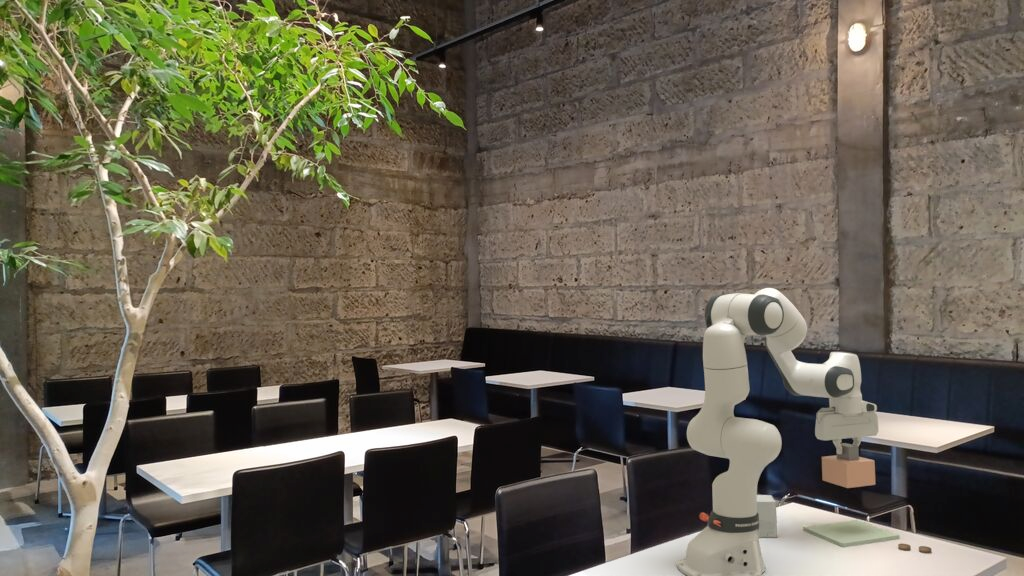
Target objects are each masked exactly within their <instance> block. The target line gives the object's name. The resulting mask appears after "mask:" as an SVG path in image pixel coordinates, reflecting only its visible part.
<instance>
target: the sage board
mask: <svg viewBox="0 0 1024 576" xmlns="http://www.w3.org/2000/svg"><path fill="white" fill-rule="evenodd" d="M803 531H804V532H806V533H808V534H810V535H813V536H815V537H818V538H820V539H822V540H825V541H827V542H830V543H833V544H835V545H837V546H839V547H841V548H847V547H853V546H860V545H865V544H874V543H879V542H885V541H891V540H892V541H894V540H899V539H900V537H901V536H900V534H898V533H895V532H892V531H888V530H887V529H883V528H881V527H878V526H876V525H873V524H870V523H867V522H865V521H862V520H859V521H858V519H854V520H847V521H838V522H833V523H832V522H831V523H824V524H816V525H811V526H804V527H803Z"/></svg>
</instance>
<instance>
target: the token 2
mask: <svg viewBox="0 0 1024 576" xmlns="http://www.w3.org/2000/svg"><path fill="white" fill-rule="evenodd" d="M918 551H919V552H918V553H921V554H926V555H927V554H928V555H929V554H932V548H931V547H930V546H925V545H920V546H918Z"/></svg>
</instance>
